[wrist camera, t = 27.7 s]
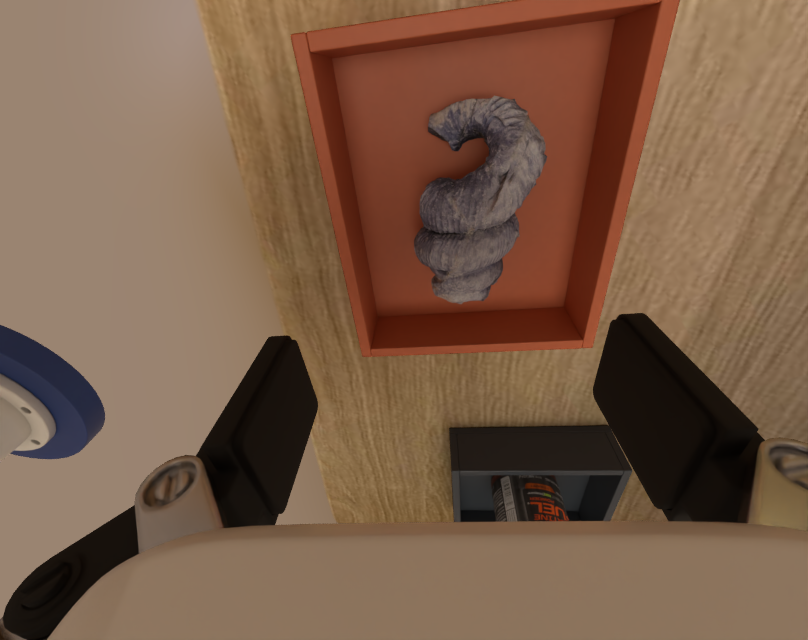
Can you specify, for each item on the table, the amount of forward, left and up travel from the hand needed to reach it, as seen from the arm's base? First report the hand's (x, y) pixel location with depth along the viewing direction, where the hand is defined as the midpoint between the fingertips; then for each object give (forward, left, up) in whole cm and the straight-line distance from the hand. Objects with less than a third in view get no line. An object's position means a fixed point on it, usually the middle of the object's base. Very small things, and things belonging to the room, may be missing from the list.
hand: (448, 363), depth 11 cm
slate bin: (+7, -24, -12) cm, 28 cm away
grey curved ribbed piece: (+2, +2, -11) cm, 12 cm away
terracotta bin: (+2, +2, -12) cm, 12 cm away
